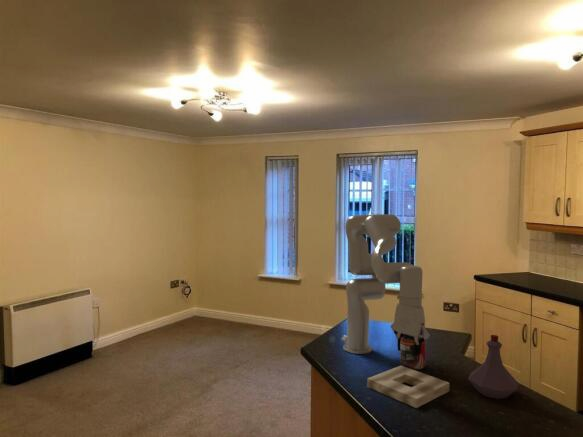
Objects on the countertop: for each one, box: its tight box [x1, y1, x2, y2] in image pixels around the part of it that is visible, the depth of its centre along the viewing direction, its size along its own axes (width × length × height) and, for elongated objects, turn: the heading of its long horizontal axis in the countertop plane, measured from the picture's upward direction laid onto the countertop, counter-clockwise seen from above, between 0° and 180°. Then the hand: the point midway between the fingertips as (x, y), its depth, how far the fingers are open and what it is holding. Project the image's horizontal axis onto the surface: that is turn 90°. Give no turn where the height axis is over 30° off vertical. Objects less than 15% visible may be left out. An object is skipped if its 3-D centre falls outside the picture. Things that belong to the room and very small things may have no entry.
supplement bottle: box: [399, 334, 418, 367], centre depth 149 cm, size 6×6×11 cm
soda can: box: [408, 341, 427, 371], centre depth 170 cm, size 7×7×12 cm
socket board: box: [366, 365, 450, 409], centre depth 150 cm, size 20×20×3 cm
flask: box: [467, 334, 519, 400], centre depth 148 cm, size 16×16×20 cm
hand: (409, 351), depth 149 cm, fingers closed on supplement bottle, 6 cm apart
